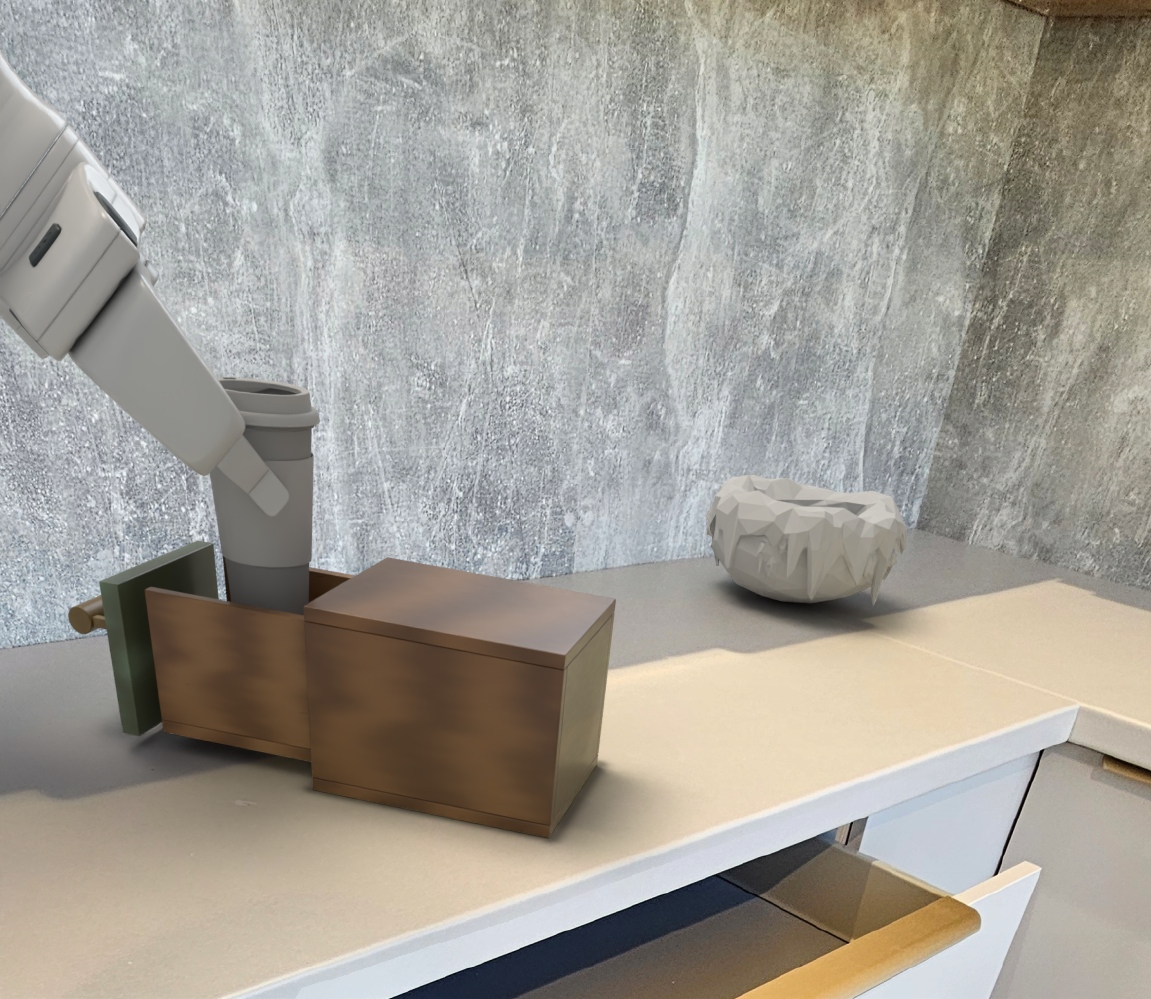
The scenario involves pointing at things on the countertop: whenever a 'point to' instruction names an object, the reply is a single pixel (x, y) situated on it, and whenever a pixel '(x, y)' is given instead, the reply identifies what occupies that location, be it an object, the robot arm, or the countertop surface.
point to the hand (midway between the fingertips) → (273, 492)
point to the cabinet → (457, 693)
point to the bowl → (804, 538)
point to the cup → (247, 535)
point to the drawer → (204, 654)
